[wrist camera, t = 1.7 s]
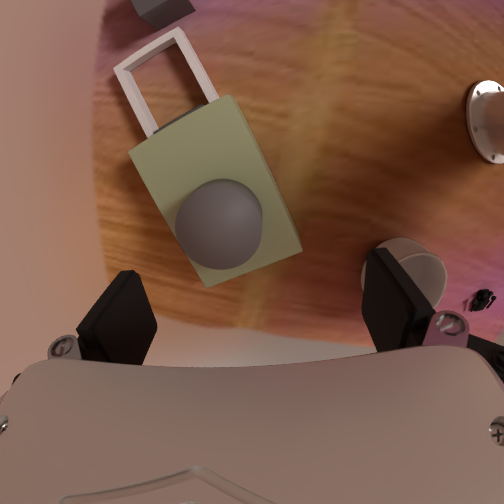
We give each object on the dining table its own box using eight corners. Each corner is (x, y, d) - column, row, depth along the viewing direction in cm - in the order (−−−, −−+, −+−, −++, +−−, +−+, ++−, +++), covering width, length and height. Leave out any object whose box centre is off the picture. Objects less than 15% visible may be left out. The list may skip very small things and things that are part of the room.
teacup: (347, 242, 35) (365, 274, 28) (418, 217, 33) (449, 242, 25) (364, 319, 40) (378, 356, 33) (424, 296, 38) (446, 328, 31)
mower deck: (194, 25, 23) (170, -3, 15) (298, 233, 35) (307, 269, 26) (111, 77, 26) (69, 70, 18) (213, 267, 37) (199, 308, 29)
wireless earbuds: (465, 314, 38) (479, 298, 35) (461, 303, 40) (474, 286, 36) (488, 310, 38) (501, 294, 34) (484, 299, 40) (496, 283, 36)
